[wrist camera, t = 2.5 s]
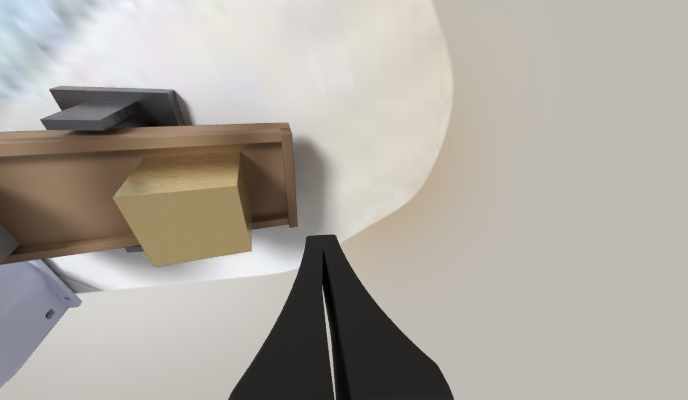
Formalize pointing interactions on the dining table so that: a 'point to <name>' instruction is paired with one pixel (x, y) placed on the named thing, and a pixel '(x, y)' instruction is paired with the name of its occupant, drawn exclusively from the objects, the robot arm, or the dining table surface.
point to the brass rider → (188, 206)
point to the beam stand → (113, 111)
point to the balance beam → (121, 182)
